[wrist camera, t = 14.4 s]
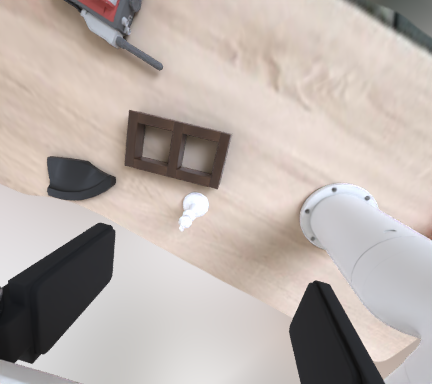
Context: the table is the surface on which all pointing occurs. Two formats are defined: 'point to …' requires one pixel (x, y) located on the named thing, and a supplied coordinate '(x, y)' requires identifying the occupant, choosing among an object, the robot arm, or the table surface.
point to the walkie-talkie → (113, 22)
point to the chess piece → (193, 208)
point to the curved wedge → (76, 179)
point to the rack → (174, 149)
